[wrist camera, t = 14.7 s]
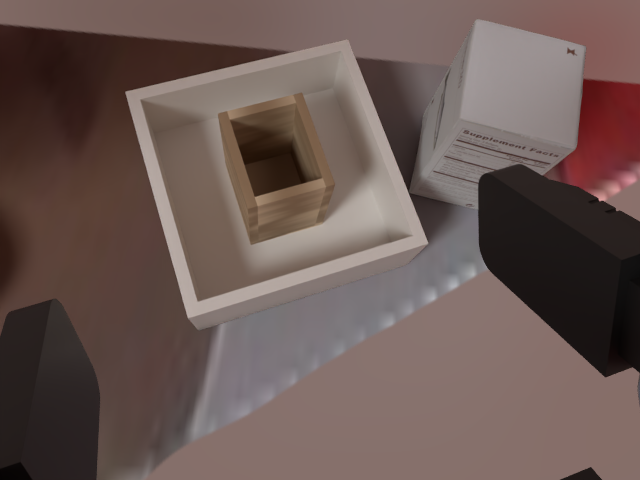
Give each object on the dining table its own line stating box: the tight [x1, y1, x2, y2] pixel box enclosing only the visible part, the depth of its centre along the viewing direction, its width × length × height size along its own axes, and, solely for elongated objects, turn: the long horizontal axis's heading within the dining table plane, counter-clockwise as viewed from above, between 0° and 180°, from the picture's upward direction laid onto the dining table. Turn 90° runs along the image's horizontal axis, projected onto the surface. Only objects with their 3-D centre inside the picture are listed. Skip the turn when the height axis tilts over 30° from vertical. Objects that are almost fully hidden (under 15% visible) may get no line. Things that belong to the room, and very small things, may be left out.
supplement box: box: [409, 19, 586, 210], centre depth 40 cm, size 7×7×13 cm
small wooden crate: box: [218, 93, 335, 245], centre depth 39 cm, size 6×6×8 cm
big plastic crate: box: [125, 39, 428, 330], centre depth 41 cm, size 16×16×6 cm
